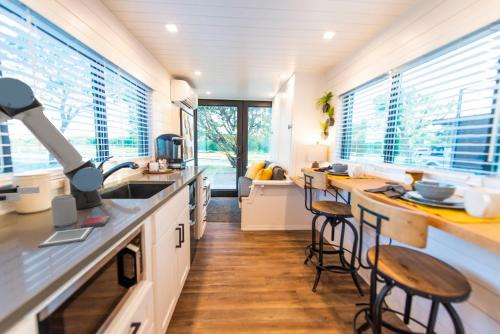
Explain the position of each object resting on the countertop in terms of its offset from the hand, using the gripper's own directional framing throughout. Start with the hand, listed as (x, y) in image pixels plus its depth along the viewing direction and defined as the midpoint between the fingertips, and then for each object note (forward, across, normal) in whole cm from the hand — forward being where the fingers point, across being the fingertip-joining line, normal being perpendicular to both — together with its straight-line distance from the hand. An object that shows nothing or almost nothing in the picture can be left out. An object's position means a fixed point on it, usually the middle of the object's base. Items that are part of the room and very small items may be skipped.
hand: (29, 192), depth 84 cm
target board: (+16, +16, -14) cm, 27 cm away
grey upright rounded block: (+10, 0, -14) cm, 18 cm away
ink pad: (+22, +4, -14) cm, 26 cm away
